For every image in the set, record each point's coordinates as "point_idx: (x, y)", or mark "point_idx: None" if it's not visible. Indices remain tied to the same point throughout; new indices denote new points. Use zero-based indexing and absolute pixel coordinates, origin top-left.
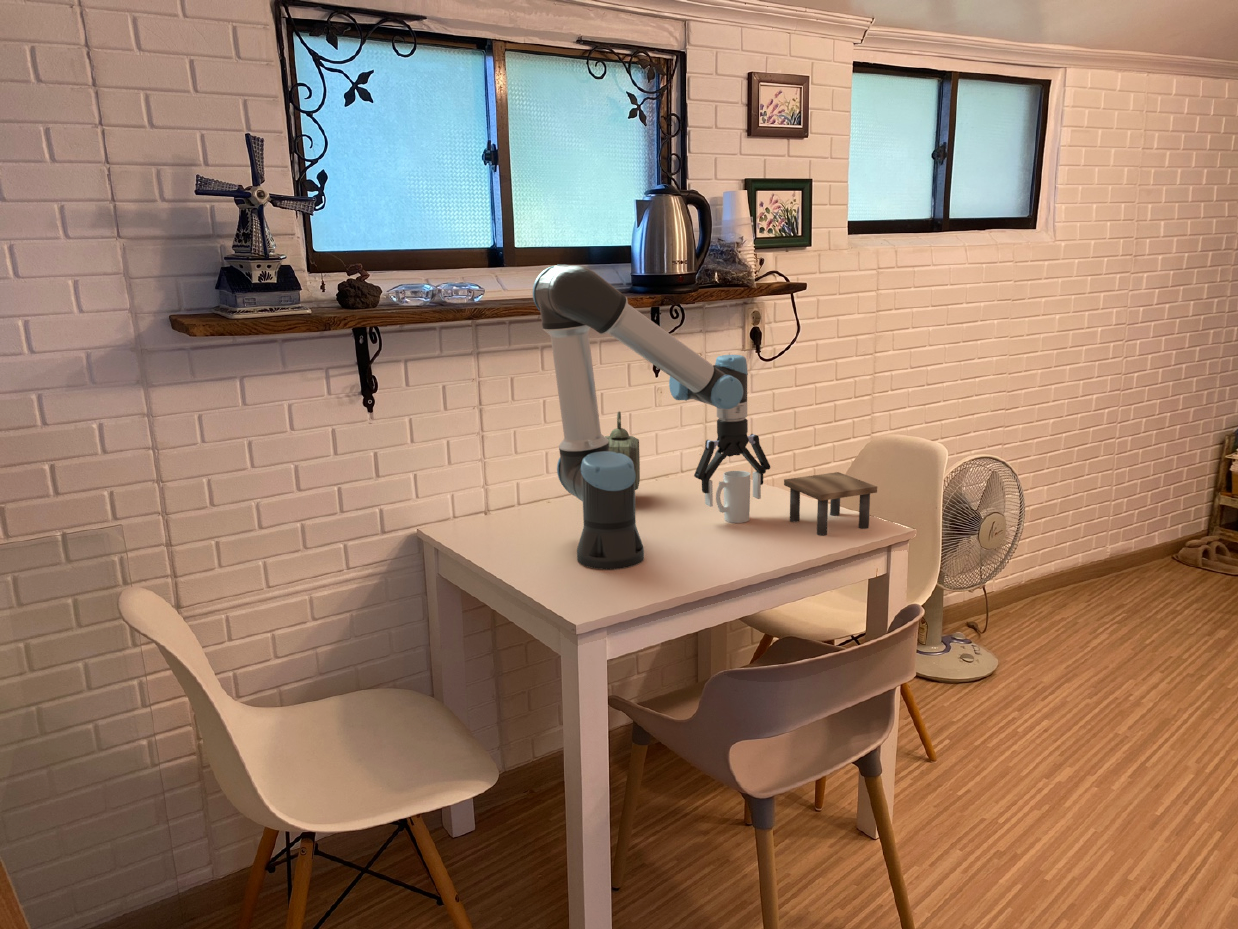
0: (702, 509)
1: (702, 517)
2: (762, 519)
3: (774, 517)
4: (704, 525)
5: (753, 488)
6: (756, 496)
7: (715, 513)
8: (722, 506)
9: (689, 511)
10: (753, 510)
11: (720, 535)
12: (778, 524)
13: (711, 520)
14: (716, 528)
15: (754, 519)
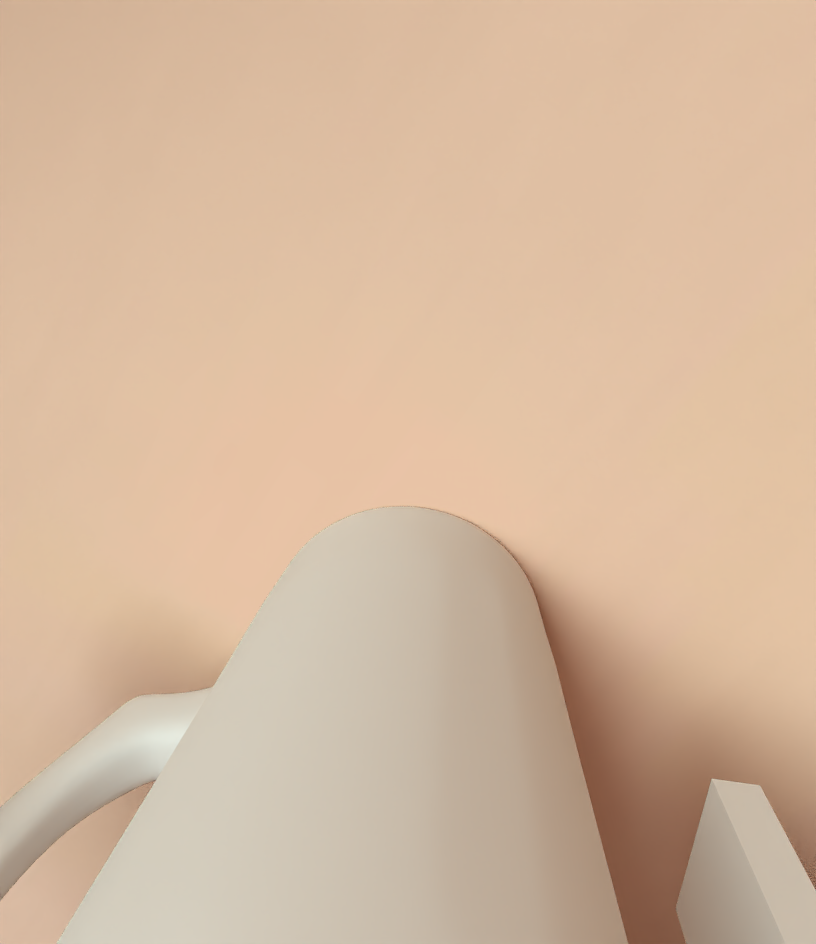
0: (281, 21)
1: (116, 350)
2: (638, 754)
3: (790, 769)
4: (15, 599)
5: (757, 923)
6: (694, 895)
7: (335, 294)
8: (110, 797)
9: (76, 8)
10: (810, 448)
11: (29, 881)
12: (650, 930)
13: (156, 501)
14: (82, 729)
15: (570, 712)
